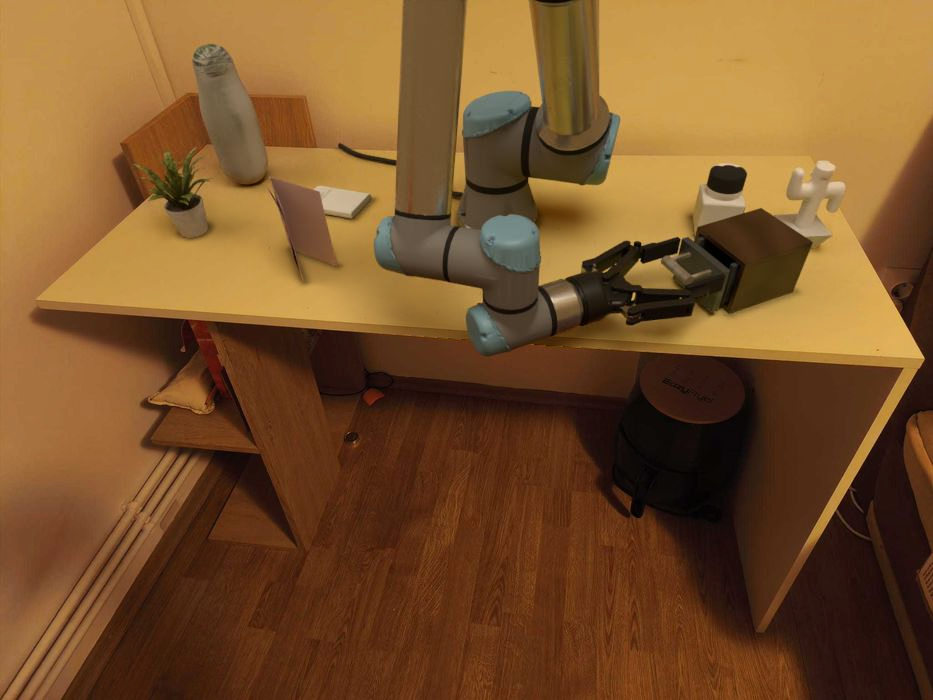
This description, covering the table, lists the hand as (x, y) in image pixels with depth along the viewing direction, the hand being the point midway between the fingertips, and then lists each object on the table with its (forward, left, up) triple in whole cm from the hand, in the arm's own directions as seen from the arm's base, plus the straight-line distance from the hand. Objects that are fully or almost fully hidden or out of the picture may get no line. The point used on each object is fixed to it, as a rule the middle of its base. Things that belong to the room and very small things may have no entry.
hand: (698, 262), depth 94 cm
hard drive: (-72, +1, -7) cm, 72 cm away
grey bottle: (-96, +2, -7) cm, 96 cm away
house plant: (-91, -18, -7) cm, 93 cm away
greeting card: (-64, -17, -7) cm, 66 cm away
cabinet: (+6, +7, -7) cm, 12 cm away
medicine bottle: (-1, +22, -7) cm, 24 cm away
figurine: (+13, +23, -7) cm, 28 cm away
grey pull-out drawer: (+2, +3, -6) cm, 7 cm away
